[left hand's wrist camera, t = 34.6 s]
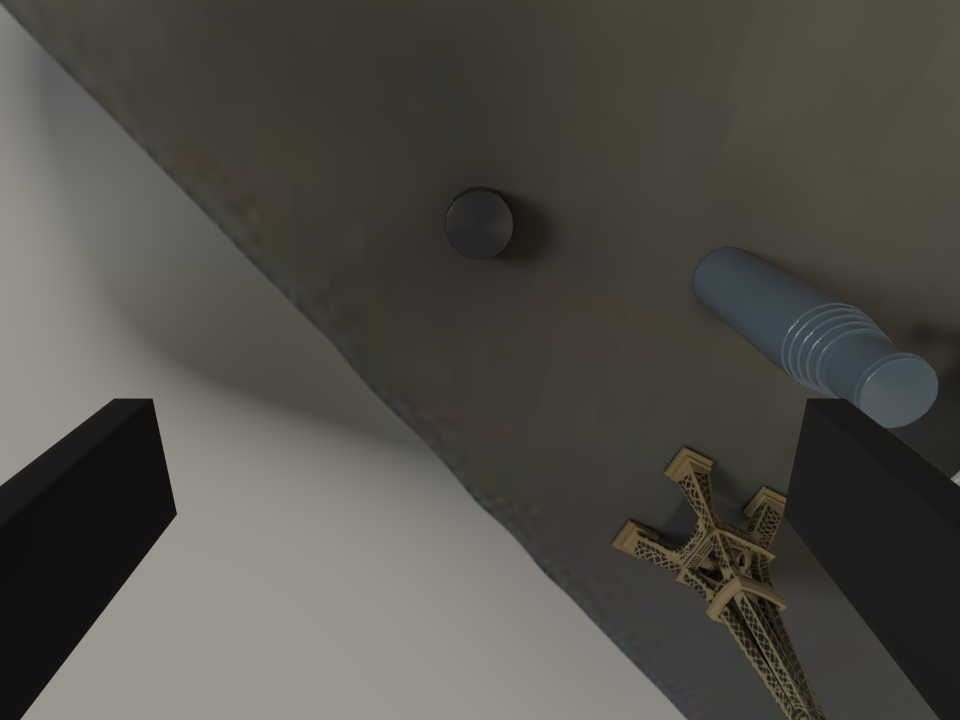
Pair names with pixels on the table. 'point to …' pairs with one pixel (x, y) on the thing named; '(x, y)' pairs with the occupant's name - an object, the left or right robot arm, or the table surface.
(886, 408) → the bottle
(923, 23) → the table surface
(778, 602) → the eiffel tower
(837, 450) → the left robot arm
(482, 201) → the cap
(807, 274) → the table surface
